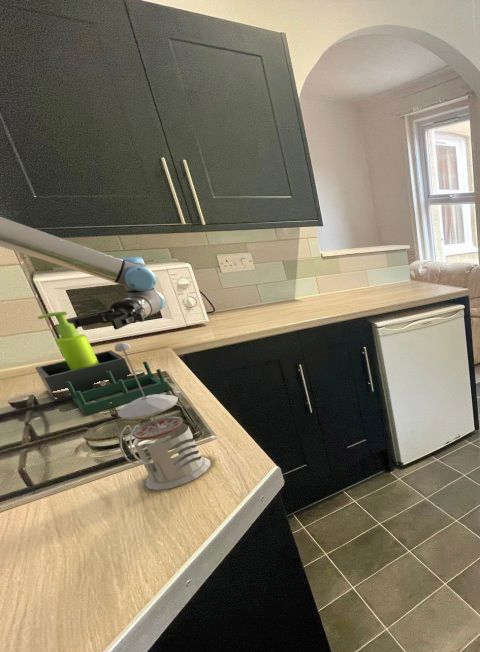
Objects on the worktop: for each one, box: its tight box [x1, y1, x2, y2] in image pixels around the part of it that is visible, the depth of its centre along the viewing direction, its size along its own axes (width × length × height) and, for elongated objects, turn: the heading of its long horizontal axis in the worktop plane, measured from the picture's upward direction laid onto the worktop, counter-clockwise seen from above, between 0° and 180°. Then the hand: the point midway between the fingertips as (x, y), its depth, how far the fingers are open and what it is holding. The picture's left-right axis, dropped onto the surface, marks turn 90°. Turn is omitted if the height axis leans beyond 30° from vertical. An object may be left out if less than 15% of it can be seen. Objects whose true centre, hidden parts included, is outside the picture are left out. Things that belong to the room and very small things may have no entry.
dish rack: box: [65, 361, 171, 416], centre depth 109 cm, size 17×12×6 cm
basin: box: [34, 349, 132, 403], centre depth 116 cm, size 16×14×7 cm
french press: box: [114, 341, 211, 491], centre depth 71 cm, size 10×12×25 cm
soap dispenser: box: [37, 311, 99, 370], centre depth 113 cm, size 6×7×20 cm
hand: (86, 327), depth 119 cm, fingers open, 13 cm apart
